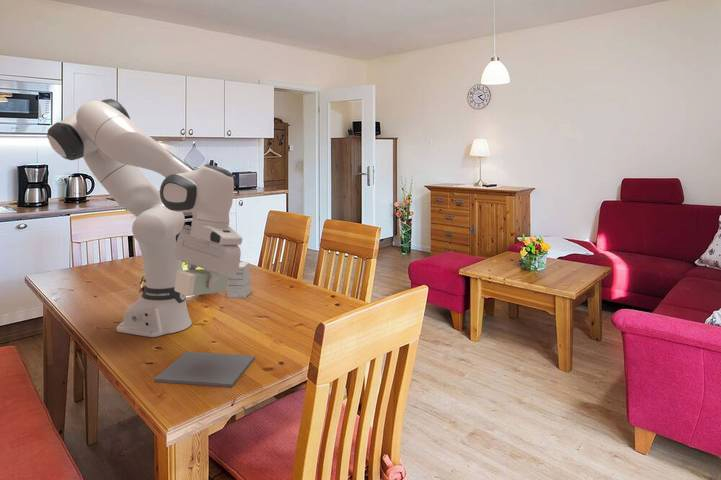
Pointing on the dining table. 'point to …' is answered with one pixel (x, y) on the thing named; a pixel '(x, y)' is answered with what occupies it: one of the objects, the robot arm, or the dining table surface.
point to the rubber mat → (206, 369)
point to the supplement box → (239, 282)
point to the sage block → (197, 282)
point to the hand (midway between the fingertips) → (201, 285)
